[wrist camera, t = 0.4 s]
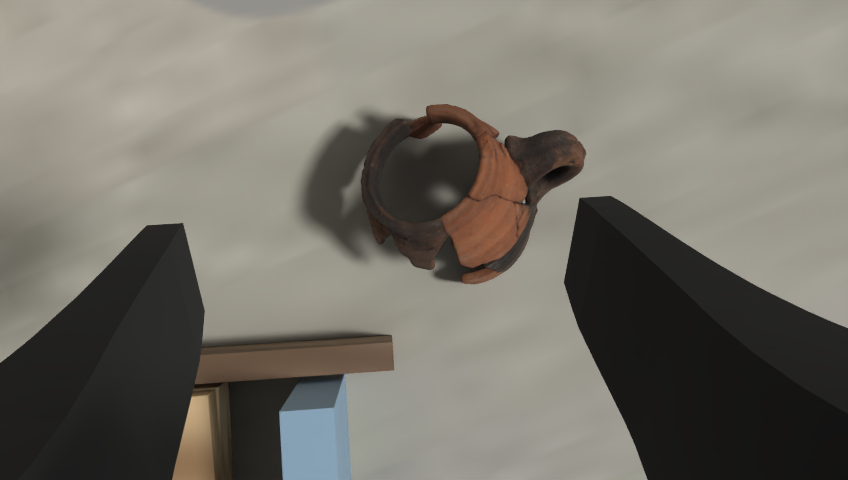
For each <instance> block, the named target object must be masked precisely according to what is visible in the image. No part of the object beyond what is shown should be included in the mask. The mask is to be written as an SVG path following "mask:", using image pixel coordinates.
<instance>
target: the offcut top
mask: <svg viewBox="0 0 848 480" xmlns="http://www.w3.org/2000/svg"><path fill="white" fill-rule="evenodd" d="M172 480H223V476H222V464H221V452H220V441H219V429H218V417H217V405H216V393H215V389H213V390H203V391H193V393H192V397H191V402H190V406H189V410H188V414H187V418H186V423H185V427H184V431H183V435H182V439H181V443H180V448H179V452H178V456H177V460H176V464H175V469H174V473H173V478H172Z"/></svg>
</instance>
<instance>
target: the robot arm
mask: <svg viewBox="0 0 848 480" xmlns="http://www.w3.org/2000/svg"><path fill="white" fill-rule="evenodd" d="M564 284H565V287H566V290H567V294H568V297H569V300H570V303H571V307H572V310H573V313H574V316H575V318H576V321H577V324H578V327H579V329H580V331H581V334H582V336H583V338H584V340H585V342H586V344H587V346H588V348H589V350H590V352H591V354H592V356H593V358H594V361H595V363H596V365H597V367H598V369H599V371H600V373H601V375H602V377H603V379H604V381H605V383H606V385H607V387H608V389H609V391H610V393H611V395H612V397H613V399H614V401H615V403H616V405H617V407H618V409H619V411H620V413H621V415H622V417H623V419H624V421H625V423H626V425H627V428H628V430H629V432H630V435H631V437H632V439H633V441H634V444H635V446H636V449H637V452H638V454H639V457H640V460H641V463H642V465H643V468H644V471H645V474H646V476H647V479H648V480H848V328H846V327H843V326H841V325H838V324H836V323H833V322H831V321H828V320H826V319H824V318H822V317H819V316H817V315H815V314H812V313H810V312H808V311H806V310H804V309H802V308H800V307H798V306H795V305H793V304H791V303H789V302H787V301H785V300H783V299H781V298H779V297H777V296H775V295H773V294H771V293H769V292H767V291H765V290H763V289H761V288H759V287H757V286H755V285H754V284H752V283H750V282H748V281H746V280H745V279H743V278H741V277H739V276H738V275H736V274H734V273H732V272H731V271H729V270H727V269H726V268H724V267H722V266H720V265H719V264H717V263H715V262H714V261H712V260H710V259H709V258H707V257H706V256H704V255H702V254H701V253H699V252H698V251H696V250H694V249H693V248H691V247H690V246H688V245H687V244H685V243H683V242H682V241H680V240H679V239H677V238H676V237H674V236H673V235H671V234H670V233H668V232H667V231H665V230H664V229H662V228H661V227H659V226H658V225H656V224H655V223H653V222H652V221H650V220H649V219H647V218H646V217H644V216H643V215H641V214H639V213H638V212H636V211H635V210H633V209H632V208H630V207H629V206H627V205H625V204H624V203H622V202H621V201H619V200H617V199H615V198H613V197H612V196H604V197H588V198H580V199H579V204H578V210H577V215H576V221H575V226H574V231H573V237H572V242H571V247H570V253H569V258H568V264H567V269H566V274H565V280H564ZM204 312H205V311H204V307H203V302H202V298H201V294H200V290H199V286H198V282H197V278H196V274H195V270H194V266H193V262H192V258H191V254H190V250H189V246H188V241H187V237H186V233H185V229H184V225H183V223H179V224H163V225H148V226H146V227H145V228H144V229H143V230H142V231H141V232H140V233H139V234H138V235H137V236H136V237H135V238H134V239H133V240H132V241H131V242H130V243H129V244H128V245H127V246H126V247H125V248H124V249H123V250H122V251H121V253H120V254H119V255H118V256H117V257H116V258H115V259H114V260H113V261H112V262H111V263H110V264H109V265H108V266H107V267H106V268H105V269H104V270H103V271H102V272H101V273H100V274H99V275H98V276H97V277H96V278H95V279H94V280H93V281H92V282H91V283H90V284H89V285H88V286H87V287H86V288H85V289H84V290H83V291H82V292H81V293H80V294H79V295H78V296H77V297H76V298H75V299H74V300H73V301H72V302H71V303H70V304H68V305H67V306H66V307H65V308H64V309H63V310H62V311H61V312H60V313H59V314H57V315H56V316H55V317H54V318H53V319H52V320H51V321H50V322H49V323H48V324H46V325H45V326H44V327H43V328H42V329H41V330H40V331H39V332H38V333H36V334H35V335H34V336H33V337H32V338H31V339H30V340H28V341H27V342H26V343H25V344H24V345H22V346H21V347H20V348H19V349H17V350H16V351H15V352H14V353H12V354H11V355H10V356H9V357H7V358H6V359H5V360H4V361H2V362H1V363H0V480H172V478H173V473H174V469H175V464H176V460H177V456H178V452H179V448H180V443H181V439H182V435H183V431H184V427H185V423H186V418H187V414H188V410H189V406H190V402H191V397H192V393H193V389H194V384H195V380H196V376H197V371H198V367H199V362H200V355H201V346H202V336H203V324H204Z"/></svg>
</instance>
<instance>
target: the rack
mask: <svg viewBox="0 0 848 480" xmlns="http://www.w3.org/2000/svg"><path fill="white" fill-rule="evenodd" d="M390 370H394V360H393V342H392V335H387V336H372V337H357V338H342V339H327V340H312V341H298V342H283V343H268V344H253V345H238V346H223V347H208V348H201V355H200V362H199V367H198V371H197V376H196V380H195V384H206V383H220V382H234V381H248V380H263V379H277V378H291V377H305V376H319V375H333V374H348V373H362V372H376V371H390Z"/></svg>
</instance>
